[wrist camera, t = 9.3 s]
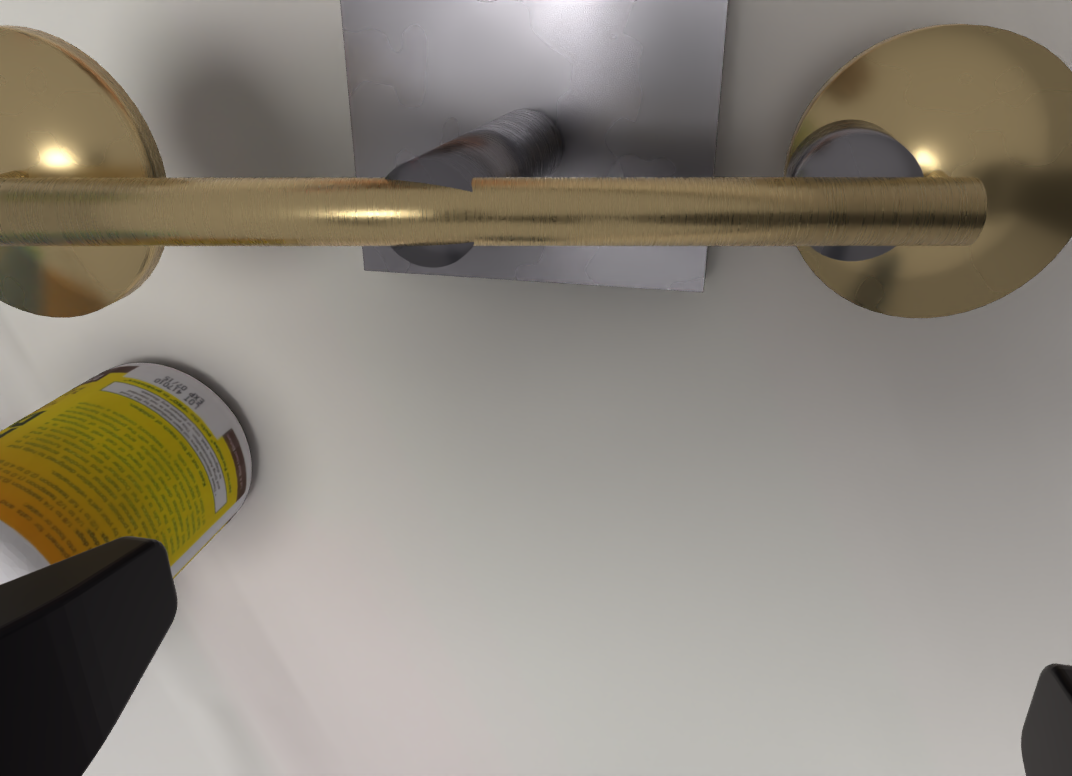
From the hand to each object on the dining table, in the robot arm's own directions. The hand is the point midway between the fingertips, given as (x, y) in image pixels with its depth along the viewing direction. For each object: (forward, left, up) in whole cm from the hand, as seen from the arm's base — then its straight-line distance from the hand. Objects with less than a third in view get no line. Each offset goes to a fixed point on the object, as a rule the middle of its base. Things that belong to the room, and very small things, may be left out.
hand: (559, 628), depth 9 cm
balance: (+3, -3, -12) cm, 13 cm away
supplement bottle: (+14, +6, -13) cm, 20 cm away
